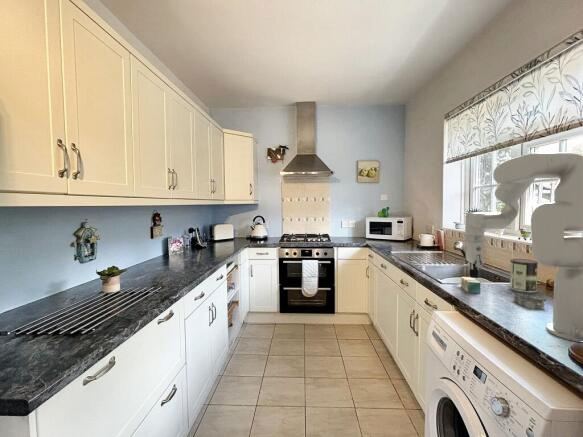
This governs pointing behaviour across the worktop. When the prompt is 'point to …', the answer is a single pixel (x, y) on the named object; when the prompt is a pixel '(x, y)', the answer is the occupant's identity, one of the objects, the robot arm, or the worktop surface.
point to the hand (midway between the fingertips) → (473, 277)
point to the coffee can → (523, 275)
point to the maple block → (470, 284)
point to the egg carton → (525, 301)
